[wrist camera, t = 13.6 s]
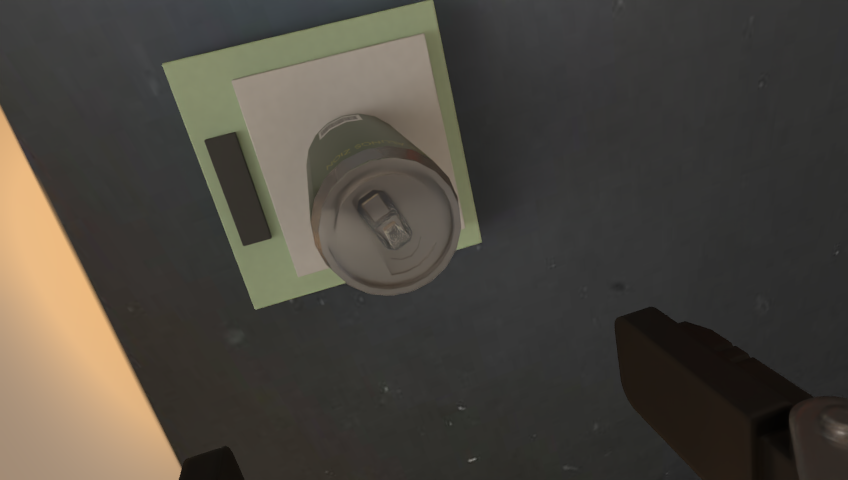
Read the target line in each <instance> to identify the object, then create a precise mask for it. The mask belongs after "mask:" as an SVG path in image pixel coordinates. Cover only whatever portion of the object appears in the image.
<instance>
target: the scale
mask: <svg viewBox="0 0 848 480" xmlns="http://www.w3.org/2000/svg"><path fill="white" fill-rule="evenodd" d="M162 66H163V69H164V71H165V74H166V77H167V79H168V82H169V85H170V87H171V90H172V92H173V95H174V98H175V100H176V103H177V106H178V108H179V111H180V113H181V116H182V119H183V121H184V124H185V127H186V129H187V132H188V135H189V137H190V140H191V142H192V145H193V148H194V150H195V153H196V156H197V158H198V161H199V164H200V166H201V169H202V171H203V174H204V177H205V179H206V182H207V185H208V187H209V190H210V192H211V195H212V198H213V200H214V203H215V206H216V208H217V211H218V214H219V216H220V219H221V221H222V224H223V227H224V229H225V232H226V235H227V237H228V240H229V243H230V245H231V248H232V250H233V253H234V256H235V258H236V261H237V264H238V266H239V269H240V271H241V274H242V277H243V279H244V282H245V285H246V287H247V290H248V293H249V295H250V298H251V300H252V303H253V306H254V308H255V309H259V308H263V307H266V306H270V305H273V304H276V303H280V302H283V301H286V300H290V299H293V298H297V297H300V296H303V295H307V294H310V293H313V292H317V291H320V290H323V289H327V288H330V287H334V286H337V285H340V284H344V283H346V282H345V281H344V280H342V279H341V278H340V277H339V276H338V275H337V274H336V273H334V272H333V270H332V269H330V268H329V267H328V266H327V265H326V263H325V262H324V260H323V258H322V257H321V255H320V253H319V251H318V250H317V248H316V246H315V243H314V238H313V233H312V227H311V222H310V208H309V195H308V182H307V169H306V164H307V156H308V149H309V147H310V145H311V143H312V141H313V139H314V137H315V135H316V134H317V133H318V132H319V131H320V130H321V129H322V128H323V127H324V126H325V125H326V124H327V123H329V122H331V121H333V120H335V119H337V118H339V117H341V116H345V115H352V114H364V115H370V116H375V117H377V118H379V119H381V120H382V121H384V122H386V123H388V124H390V125H391V126H392V127H393V128H394V129H396V130H397V131H398V132H399V133H400V134H402V135H403V136H404V137H405V138H406V139H408V140H409V141H410V142H411V143H413V144H414V145H415V146H416V147H417V148H419V149H420V150H421V151H422V152H423V153H425V154H426V155H427V156H428V157H429V158H431V159H432V160H433V161H434V162H435V163H436V164H437V165H438V166H439V167H440V168H441V169H442V171H443V172H444V173H445V174H446V175H447V176H448V177H449V179H450V181H451V183H452V186H453V188H454V190H455V192H456V194H457V197H458V204H459V208H460V219H461V232H460V236H459V241H458V245H457V249H456V250H458V249H461V248H465V247H468V246H472V245H475V244H478V243H481V242H482V240H481V235H480V230H479V225H478V220H477V215H476V210H475V205H474V200H473V195H472V190H471V185H470V180H469V175H468V170H467V165H466V160H465V155H464V150H463V145H462V140H461V135H460V131H459V126H458V121H457V116H456V111H455V106H454V101H453V96H452V91H451V86H450V81H449V76H448V71H447V66H446V61H445V56H444V51H443V46H442V41H441V36H440V31H439V26H438V21H437V16H436V12H435V7H434V2H433V0H426V1H422V2H418V3H413V4H409V5H405V6H401V7H397V8H393V9H388V10H384V11H380V12H376V13H372V14H367V15H363V16H359V17H355V18H351V19H346V20H342V21H338V22H334V23H330V24H325V25H321V26H317V27H313V28H309V29H304V30H300V31H296V32H292V33H288V34H284V35H279V36H275V37H271V38H267V39H263V40H258V41H254V42H250V43H246V44H242V45H237V46H233V47H229V48H225V49H221V50H216V51H212V52H208V53H204V54H200V55H195V56H191V57H187V58H183V59H179V60H174V61H170V62H166V63H163V64H162Z"/></svg>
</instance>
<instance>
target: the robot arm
mask: <svg viewBox="0 0 848 480" xmlns="http://www.w3.org/2000/svg"><path fill="white" fill-rule="evenodd" d="M615 335H616V344H617V352H618V360H619V369H620V377H621V383H622V386H623V389H624V392H625V394H626V396H627V398H628V400H629V402H630V404H631V405H632V406H633V408H634V409H635V410H636V411H637V412H638V413H639V414H640V415H641V416H642V418H643V419H644V420H645V421H646V422H647V423H648V424H649V425H650V426H651V427H652V428H653V429H654V430H655V431H656V432H657V433H658V434H659V435H660V436H661V437H662V438H663V439H664V440H665V441H666V442H667V443H668V445H669V446H670V447H671V448H672V449H673V450H674V451H675V452H676V453H677V454H678V455H679V456H680V457H681V458H682V459H683V460H684V461H685V462H686V463H687V464H688V465H689V466H690V467H691V468H692V469H693V471H694V472H695V473H696V474H697V475H698V476H699V477H700V478H701V479H702V480H848V398H844V397H835V396H822V397H813V396H811V395H810V394H808V393H807V392H805V391H804V390H802V389H801V388H799V387H798V386H796V385H795V384H793V383H791V382H790V381H788V380H787V379H785V378H784V377H782V376H781V375H779V374H778V373H776V372H775V371H773V370H772V369H770V368H769V367H767V366H766V365H764V364H763V363H761V362H760V361H758V360H757V359H755V358H753V357H752V358H750V357H749V354H747V353H746V352H744V351H743V350H741V349H740V348H738V347H737V346H734V347H733V345H732V343H731V342H729V341H728V340H726V339H725V338H723V337H722V336H720V335H719V334H717V333H716V332H714V331H712V330H711V329H707V328H704V327H701V326H698V325H695V324H692V323H689V322H685V321H684V322H681V323H677V322H675V321H674V320H672V319H671V318H669V317H668V316H667V315H665V314H664V313H662V312H661V311H659V310H658V309H656V308H654V307H648V308H645V309H642V310H639V311H636V312H633V313H630V314H627V315H624V316H621V317H618V318H617V319H616V321H615ZM179 480H244V477H243V475H242V473H241V471H240V468H239V466H238V464H237V462H236V459H235V457H234V455H233V453H232V451H231V450H230V448H229V447H227V446H224V447H221V448H218V449H215V450H212V451H209V452H206V453H203V454H200V455H197V456H194V457H191V458H188V459H186V460H185V461H184V463H183V466H182V470H181V474H180V477H179Z"/></svg>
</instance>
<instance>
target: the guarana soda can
mask: <svg viewBox="0 0 848 480" xmlns="http://www.w3.org/2000/svg"><path fill="white" fill-rule="evenodd" d="M306 169H307V182H308V195H309V208H310V222H311V227H312V233H313V238H314V243H315V246H316V248H317V250H318V251H319V253H320V255H321V257H322V258H323V260H324V262H325V263H326V265H327V266H328V267H329V268H330V269H332V270H333V272H334V273H336V274H337V275H338V276H339V277H340V278H341V279H342V280H344V281H345V282H346V283H347V284H348V285H349V286H352V287H354V288H357V289H359V290H361V291H364V292H366V293H368V294H377V295H387V296H392V295H397V294H402V293H407V292H412V291H414V290H416V289H418V288H419V287H421V286H423V285H425V284H427V283H429V282H431V281H432V280H433V279H434V278H435V277H436V276H437V275H438V274H439V273H440V272H441V271H442V270H443V269H445V268H446V266H447V265H448V263H449V261H450V259H451V258H452V256H453V254H454V252H455V251H456V249H457V245H458V241H459V236H460V232H461V219H460V208H459V204H458V197H457V194H456V192H455V190H454V188H453V186H452V183H451V181H450V179H449V177H448V176H447V175H446V174H445V173H444V172H443V171H442V169H441V168H440V167H439V166H438V165H437V164H436V163H435V162H434V161H433V160H432V159H431V158H429V157H428V156H427V155H426V154H425V153H423V152H422V151H421V150H420V149H419V148H417V147H416V146H415V145H414V144H413V143H411V142H410V141H409V140H408V139H406V138H405V137H404V136H403V135H402V134H400V133H399V132H398V131H397V130H396V129H394V128H393V127H392V126H391V125H390V124H388V123H386V122H384V121H382V120H381V119H379V118H377V117H375V116H370V115H364V114H352V115H345V116H341V117H339V118H337V119H335V120H333V121H331V122H329V123H327V124H326V125H325V126H324V127H323V128H322V129H321V130H320V131H319V132H318V133H317V134H316V135H315V137H314V139H313V141H312V143H311V145H310V147H309V149H308V156H307V164H306Z"/></svg>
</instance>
